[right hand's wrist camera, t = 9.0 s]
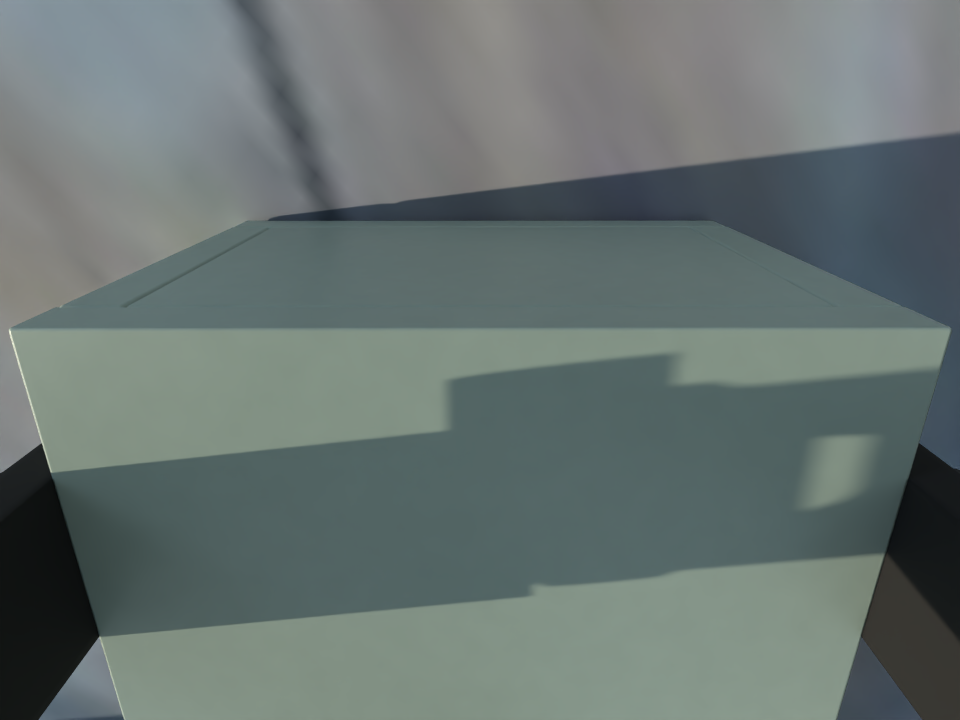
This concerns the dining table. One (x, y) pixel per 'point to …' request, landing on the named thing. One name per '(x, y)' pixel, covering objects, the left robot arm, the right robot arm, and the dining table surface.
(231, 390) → the cabinet
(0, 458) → the dining table surface
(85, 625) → the right robot arm
